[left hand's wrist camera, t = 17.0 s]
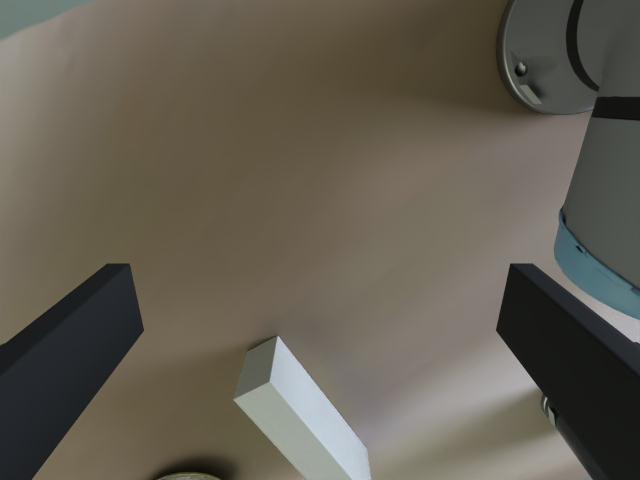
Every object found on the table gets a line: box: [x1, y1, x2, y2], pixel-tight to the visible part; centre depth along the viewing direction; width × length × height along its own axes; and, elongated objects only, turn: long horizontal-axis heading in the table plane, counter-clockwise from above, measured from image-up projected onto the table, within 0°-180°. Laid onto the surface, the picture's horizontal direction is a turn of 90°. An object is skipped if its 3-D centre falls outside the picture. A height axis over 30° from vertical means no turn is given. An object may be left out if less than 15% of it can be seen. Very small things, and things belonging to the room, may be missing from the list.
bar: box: [233, 336, 371, 480], centre depth 51 cm, size 26×5×9 cm, turn 31°
